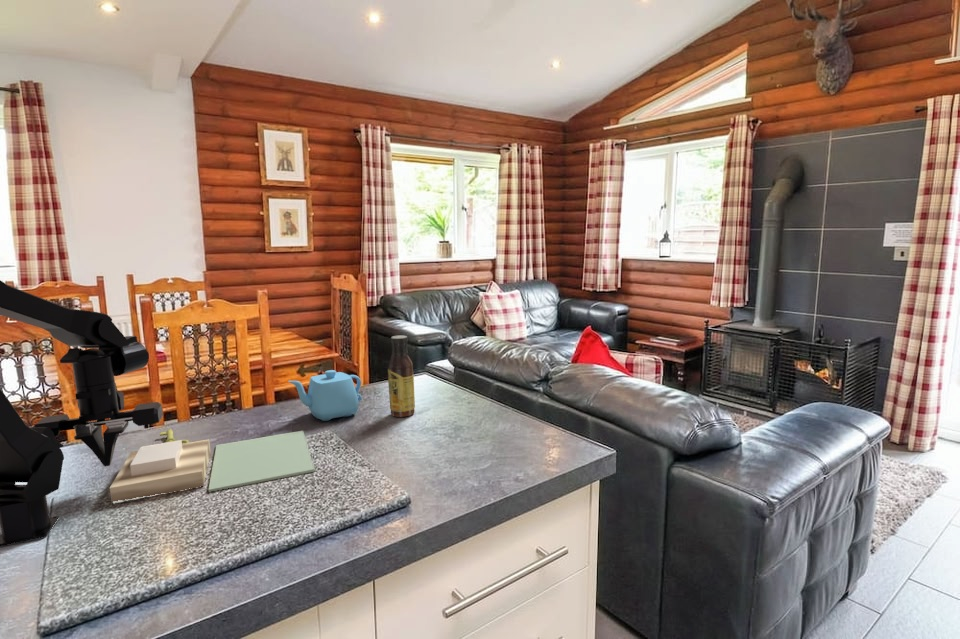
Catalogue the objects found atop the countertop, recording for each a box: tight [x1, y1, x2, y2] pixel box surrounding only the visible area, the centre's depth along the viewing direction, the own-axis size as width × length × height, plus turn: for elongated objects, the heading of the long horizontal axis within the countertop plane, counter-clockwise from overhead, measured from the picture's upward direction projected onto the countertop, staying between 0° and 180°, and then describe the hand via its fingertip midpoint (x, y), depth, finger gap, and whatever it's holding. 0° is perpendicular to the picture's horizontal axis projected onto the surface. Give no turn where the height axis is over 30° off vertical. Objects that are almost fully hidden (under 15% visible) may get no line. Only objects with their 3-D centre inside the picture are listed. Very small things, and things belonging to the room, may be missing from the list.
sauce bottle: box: [387, 334, 416, 418], centre depth 131 cm, size 7×6×20 cm
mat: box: [208, 430, 315, 493], centre depth 108 cm, size 24×18×1 cm
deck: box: [109, 438, 212, 503], centre depth 101 cm, size 18×14×3 cm
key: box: [159, 428, 190, 444], centre depth 118 cm, size 7×12×2 cm, turn 49°
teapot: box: [287, 369, 363, 422], centre depth 133 cm, size 12×18×12 cm
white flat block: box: [130, 439, 183, 476], centre depth 100 cm, size 10×7×2 cm
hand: (107, 465), depth 97 cm, fingers closed
